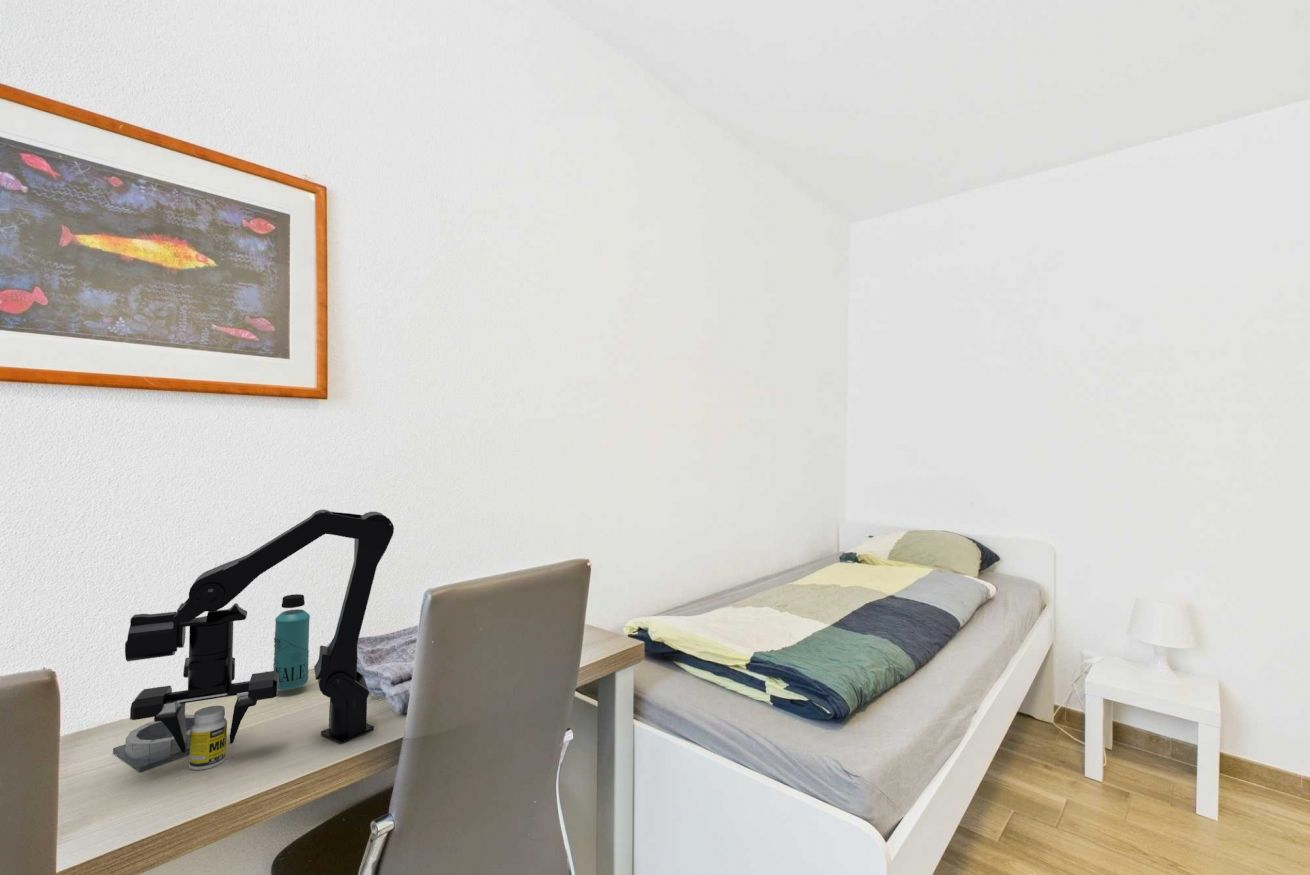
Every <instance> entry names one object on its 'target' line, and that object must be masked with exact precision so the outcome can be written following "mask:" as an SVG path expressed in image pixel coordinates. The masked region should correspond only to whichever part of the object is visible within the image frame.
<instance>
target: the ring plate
mask: <svg viewBox="0 0 1310 875" xmlns="http://www.w3.org/2000/svg"><path fill="white" fill-rule="evenodd" d="M185 722H186V732H187V750H186V752H184V753H182V751H181V750H180V748H179V746H178V744H177V742H176V740H175V739H174V737H173V735H172V733H171V732H170V731H169V730H168V728H167V727H166V726H165V725H164V724H163V722H162V721H159V722H155V721H150V722H146V723H144V724H143V725H140V726H138V727H137V728H135V729H132V730H131V731H130V732H129V733H128V735H127V736H126V737H125V743H124V744H122V745H119V746H115V747H113V748H112V754H114V755H115V754H116V755H117V757H118V758H119V757H120V758H121V761H123V760H124V761H125V762H124V761H123V762H124V763H126V764H127V765H129V767H131V766H132V767H131V768H133V769H134V770H135V769H136V770H135V771H136V772H138V773H143V772H145V771H148V770H151V769H154V768H156V767H159V766H162V765H165V764H167V763H170V762H172V761H173V762H174V761H175V760H179V759H181V758H183V757H186V756H190V730H191V727H192V726H193V725H194V724H195V723H194V714H186V713H185ZM116 755H115V756H116ZM120 758H119V759H120Z"/></svg>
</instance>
